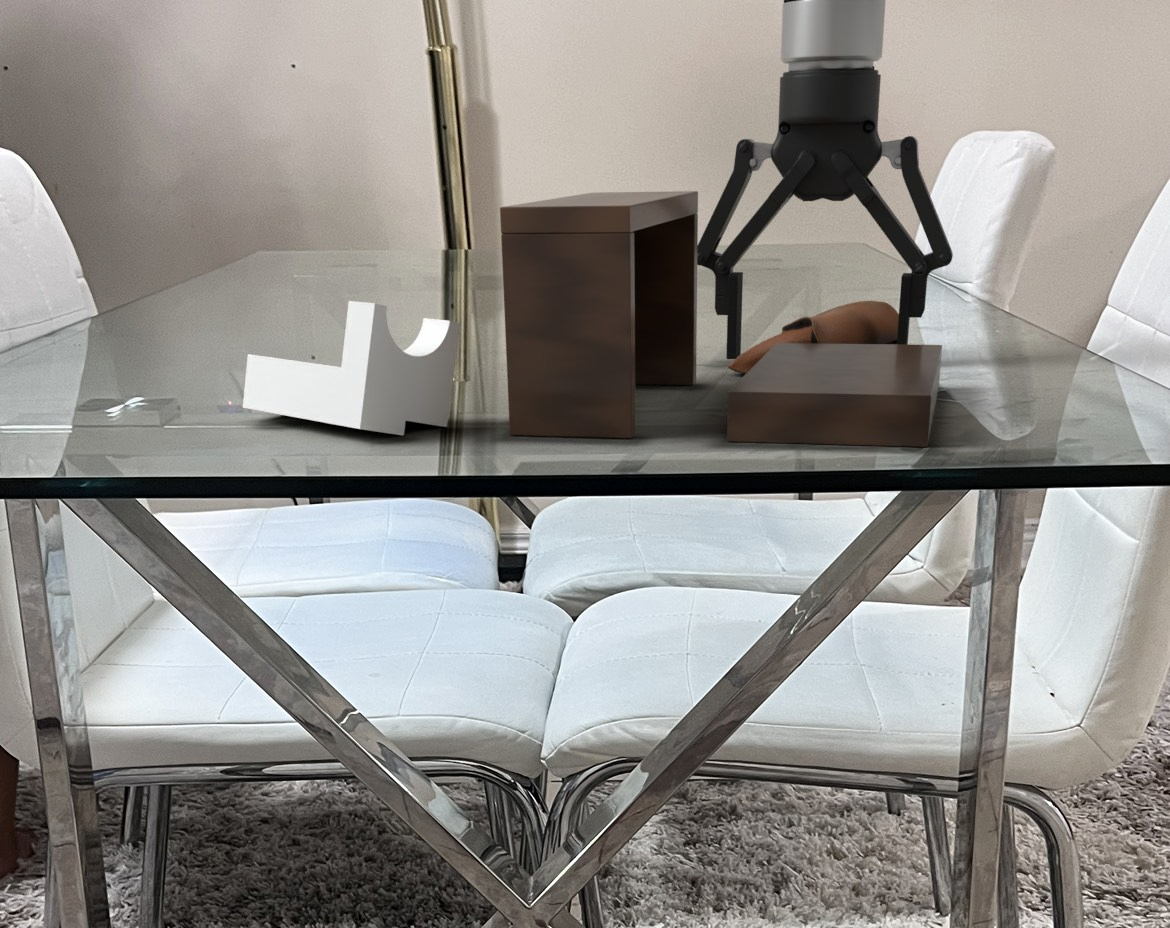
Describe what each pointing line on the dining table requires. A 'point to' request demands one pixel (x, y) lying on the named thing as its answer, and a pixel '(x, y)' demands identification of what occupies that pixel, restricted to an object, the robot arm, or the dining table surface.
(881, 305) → the sunglasses case
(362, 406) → the bracket
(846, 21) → the robot arm
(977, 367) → the dining table surface
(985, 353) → the dining table surface
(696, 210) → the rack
